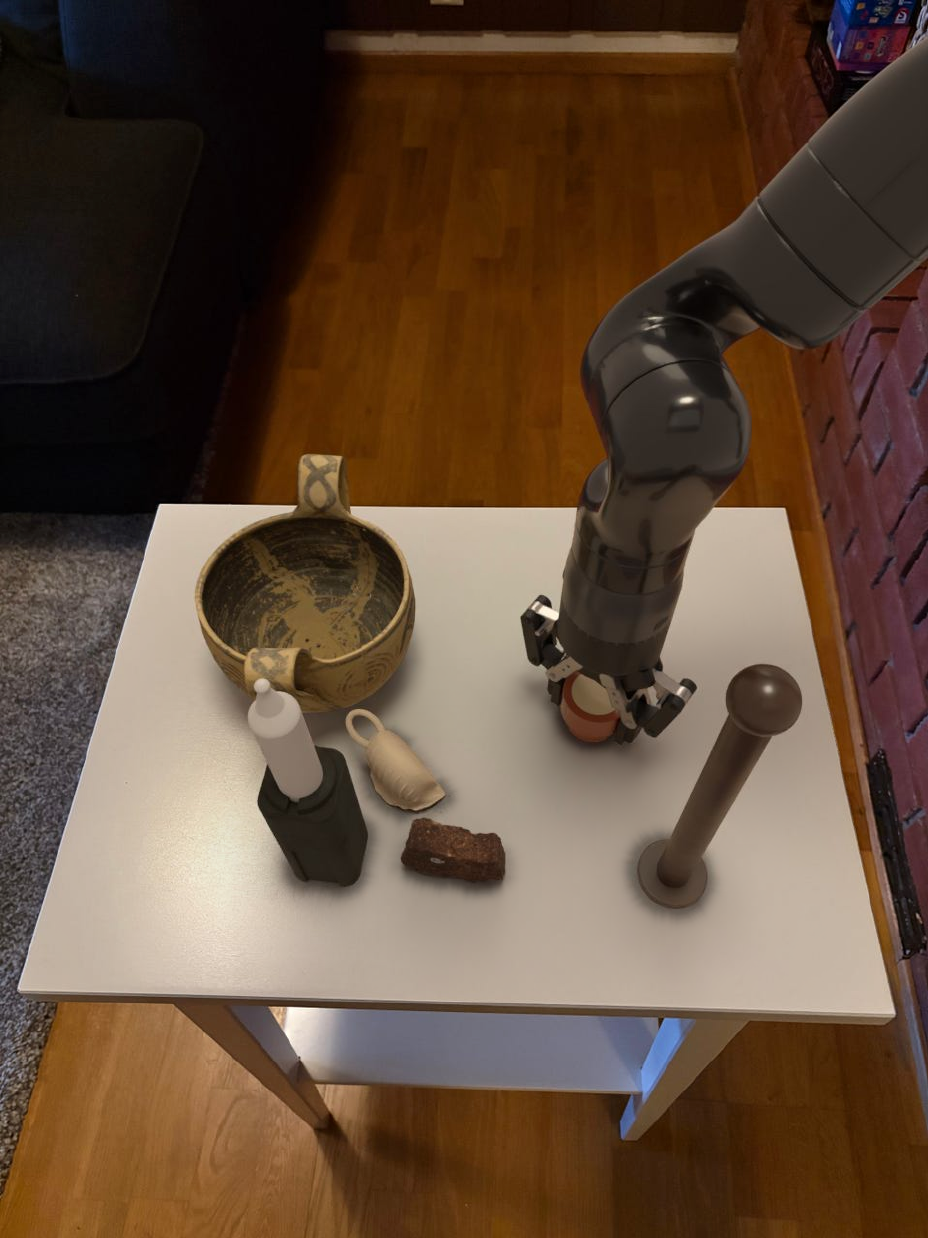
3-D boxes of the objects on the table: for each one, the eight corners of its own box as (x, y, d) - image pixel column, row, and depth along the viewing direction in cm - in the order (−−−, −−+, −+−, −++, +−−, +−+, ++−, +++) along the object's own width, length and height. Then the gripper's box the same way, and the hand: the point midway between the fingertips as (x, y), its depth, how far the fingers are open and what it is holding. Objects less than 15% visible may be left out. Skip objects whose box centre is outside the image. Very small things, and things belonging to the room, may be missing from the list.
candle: (290, 880, 65) (198, 719, 44) (306, 815, 67) (227, 636, 47) (357, 889, 64) (295, 730, 44) (370, 823, 67) (319, 646, 46)
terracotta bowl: (636, 713, 72) (644, 686, 68) (601, 761, 70) (608, 735, 66) (581, 680, 74) (586, 651, 70) (545, 725, 71) (549, 698, 68)
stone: (400, 872, 65) (395, 848, 61) (409, 833, 66) (404, 807, 62) (503, 889, 64) (504, 866, 60) (509, 849, 66) (510, 824, 61)
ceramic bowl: (405, 784, 69) (387, 688, 56) (195, 770, 70) (133, 673, 58) (433, 564, 81) (424, 446, 69) (255, 555, 83) (215, 438, 70)
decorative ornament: (404, 827, 67) (399, 800, 62) (345, 749, 71) (336, 718, 66) (447, 797, 68) (444, 768, 64) (386, 722, 72) (380, 690, 68)
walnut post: (717, 867, 64) (844, 671, 42) (685, 922, 62) (800, 747, 39) (658, 829, 66) (749, 621, 43) (624, 881, 64) (701, 691, 41)
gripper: (744, 609, 56) (691, 729, 70) (559, 510, 62) (544, 641, 75) (687, 689, 53) (644, 799, 67) (497, 578, 58) (494, 702, 72)
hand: (591, 715), depth 71 cm, fingers closed on terracotta bowl, 5 cm apart
